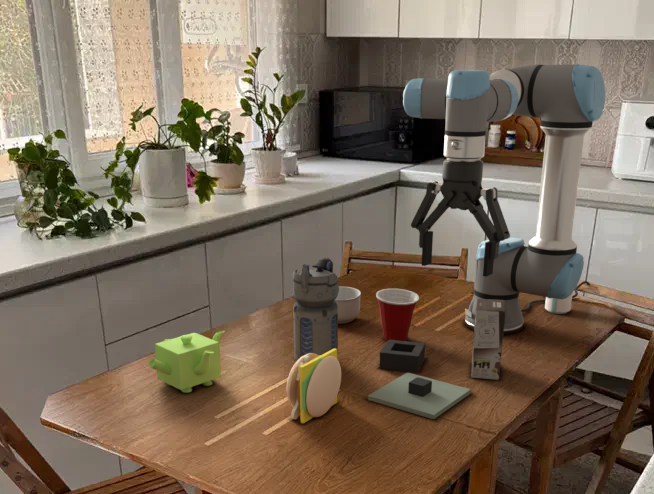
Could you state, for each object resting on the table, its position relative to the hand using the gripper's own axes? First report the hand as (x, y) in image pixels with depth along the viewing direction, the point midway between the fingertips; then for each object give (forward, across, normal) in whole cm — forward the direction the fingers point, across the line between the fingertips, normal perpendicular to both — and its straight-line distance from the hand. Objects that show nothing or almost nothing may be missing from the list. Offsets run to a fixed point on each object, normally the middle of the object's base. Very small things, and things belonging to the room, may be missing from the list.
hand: (456, 269), depth 155 cm
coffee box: (+28, 0, +18) cm, 34 cm away
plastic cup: (+28, -28, +24) cm, 47 cm away
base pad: (+28, -5, -3) cm, 29 cm away
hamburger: (+28, -19, -22) cm, 41 cm away
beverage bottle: (+28, -34, -1) cm, 44 cm away
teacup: (+28, -50, +28) cm, 64 cm away
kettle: (+28, -49, -27) cm, 63 cm away
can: (+28, -4, +71) cm, 77 cm away
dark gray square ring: (+28, -18, +11) cm, 35 cm away
